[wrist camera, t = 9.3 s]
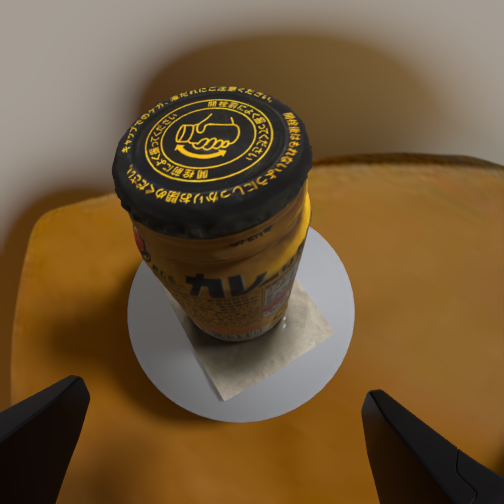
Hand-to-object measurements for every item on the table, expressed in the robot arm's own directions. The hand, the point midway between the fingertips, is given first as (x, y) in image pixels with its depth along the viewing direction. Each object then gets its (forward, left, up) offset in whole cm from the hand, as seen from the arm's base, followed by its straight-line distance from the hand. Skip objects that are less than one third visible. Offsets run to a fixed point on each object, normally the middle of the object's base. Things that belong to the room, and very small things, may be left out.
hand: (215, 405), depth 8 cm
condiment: (+2, +5, -8) cm, 10 cm away
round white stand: (+2, +5, -12) cm, 14 cm away
